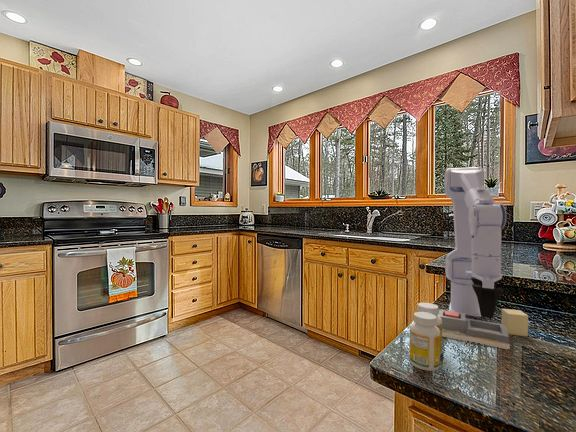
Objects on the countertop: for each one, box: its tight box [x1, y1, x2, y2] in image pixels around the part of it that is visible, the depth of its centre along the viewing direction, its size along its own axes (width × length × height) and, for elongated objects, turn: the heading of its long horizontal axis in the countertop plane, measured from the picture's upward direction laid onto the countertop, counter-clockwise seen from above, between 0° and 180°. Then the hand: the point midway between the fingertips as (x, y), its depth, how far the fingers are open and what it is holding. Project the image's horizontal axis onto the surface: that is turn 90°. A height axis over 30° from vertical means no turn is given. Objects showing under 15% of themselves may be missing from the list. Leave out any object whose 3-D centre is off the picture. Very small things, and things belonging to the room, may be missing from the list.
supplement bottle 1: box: [417, 302, 443, 356], centre depth 60 cm, size 5×5×10 cm
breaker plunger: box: [445, 310, 459, 318], centre depth 70 cm, size 3×3×3 cm
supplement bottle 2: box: [409, 311, 441, 372], centre depth 55 cm, size 5×5×10 cm
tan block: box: [501, 308, 529, 337], centre depth 70 cm, size 4×4×5 cm
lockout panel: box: [437, 309, 511, 350], centre depth 68 cm, size 10×14×4 cm
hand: (485, 312), depth 67 cm, fingers open, 7 cm apart
